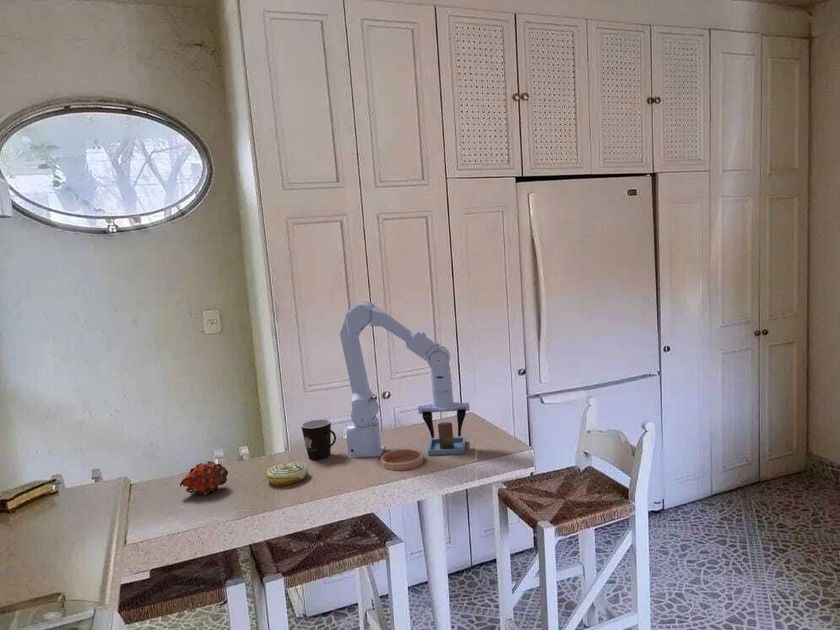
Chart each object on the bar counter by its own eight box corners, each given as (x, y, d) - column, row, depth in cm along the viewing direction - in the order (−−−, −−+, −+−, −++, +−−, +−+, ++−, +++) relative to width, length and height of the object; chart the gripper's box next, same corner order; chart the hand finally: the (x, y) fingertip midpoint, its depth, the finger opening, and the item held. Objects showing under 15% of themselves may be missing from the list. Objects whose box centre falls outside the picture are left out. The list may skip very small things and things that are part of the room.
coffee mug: (301, 455, 172) (298, 423, 171) (329, 449, 175) (326, 417, 174) (311, 467, 161) (307, 432, 160) (341, 460, 165) (337, 426, 164)
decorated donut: (311, 482, 151) (309, 468, 150) (269, 491, 147) (267, 477, 147) (305, 469, 160) (303, 456, 160) (265, 477, 157) (264, 464, 156)
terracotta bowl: (378, 472, 153) (377, 465, 152) (384, 457, 164) (384, 450, 164) (421, 470, 151) (420, 463, 151) (424, 454, 163) (424, 448, 163)
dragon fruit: (234, 493, 152) (187, 509, 148) (228, 467, 157) (183, 482, 154) (227, 475, 146) (178, 492, 142) (222, 449, 151) (174, 464, 148)
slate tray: (428, 457, 161) (427, 450, 161) (431, 444, 171) (430, 438, 171) (464, 455, 160) (464, 448, 160) (465, 442, 170) (464, 436, 170)
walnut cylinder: (439, 450, 163) (437, 426, 163) (441, 445, 167) (439, 422, 167) (453, 450, 163) (451, 426, 162) (454, 445, 167) (452, 421, 166)
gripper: (415, 395, 160) (419, 442, 162) (467, 391, 159) (471, 439, 160) (417, 388, 167) (422, 434, 169) (467, 385, 166) (471, 431, 167)
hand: (446, 436), depth 165 cm, fingers open, 7 cm apart
